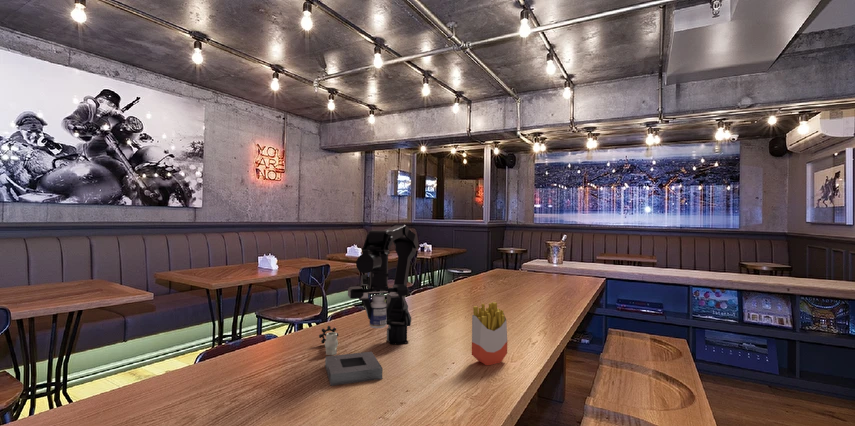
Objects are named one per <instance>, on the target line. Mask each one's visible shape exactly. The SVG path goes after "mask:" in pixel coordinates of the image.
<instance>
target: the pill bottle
mask: <svg viewBox="0 0 855 426" xmlns="http://www.w3.org/2000/svg"><path fill="white" fill-rule="evenodd" d="M371 296H372V297H371V300H372V302H371V301H370V314H371V315H370V319H369V327H370V328H371V329H372V328H373V329H383V328H386V327H387V325H386V319H387V304H386V301H385V300H386V294H372V295H371Z"/></svg>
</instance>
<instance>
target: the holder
mask: <svg viewBox="0 0 855 426" xmlns="http://www.w3.org/2000/svg"><path fill="white" fill-rule="evenodd" d="M324 359H325V360H324V361H325V362H324V366H325V367H324V368H325V371H326V375H327V378H328V382H329V385H330V386H331V387H332V386H340V385H347V384H355V383H362V382H369V381H378V380H383V367H382V365H381V363H380V362H379V360H378V359H377V357H376V356H375V354H374V353H373V351H365V352H357V353H356V352H354V353H346V354H345V353H344V354H335V355H326V356H325V358H324Z"/></svg>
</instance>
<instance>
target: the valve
mask: <svg viewBox="0 0 855 426" xmlns="http://www.w3.org/2000/svg"><path fill="white" fill-rule="evenodd" d="M331 327H332V326H330V325H327V328H326V329H325V328H324V327H323V328H321V332H322V333H319V334H318V337H319V338H320V339H321V341H320V342H321V344H324V348H325V355H326V356H335V355H338V353H337V351H338V349H337V348H338V345H339V342H338V337H339V333H338V332H336V331H337V328H336V327H333V328H331ZM326 332H327V333H326Z"/></svg>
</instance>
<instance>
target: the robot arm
mask: <svg viewBox="0 0 855 426" xmlns="http://www.w3.org/2000/svg"><path fill="white" fill-rule="evenodd" d="M392 245H394V247H395V248H394V251H395V253H396V255H397V263H396V269H395V276H394V282H393V285H392V287H389V286H388V285H389V283H388V282H389V281H388V280H389V279H388V278H389V255H390V254H391V253H390V248H391V246H392ZM418 248H419V239H418V237H417V235H416V233H415V232H413V231H412V230H410V228H409V226H408V225H406V224H395V225H393V226H391V227H388V228H386V229H383V230H382V229H371V230H370V231H368V233H367V234H366V237H365V240H364V243H363V246H362V249H361V252H362V254H360V255H359V256H358V257H357V259H356V261H355V262H356V263H355V265H356V268H357V270H358V271H359V272H360V273H362V275H361V276H360V278H361V279H360V283H361V286H359V285H358V286H357V285H356V286H349V287H348V288H347V297H349V299H354V300H355V299H358V300H359V301H360V302H362V303H363V306H364V309H365V313H366V315H367V318H368V320H370V315H371V314H370V303H371V298H369V295H371V296H372V295H385V296H386V299H385V300H386V301H385V302H386V304H387V319H386V326H388V327H387V328H386V341H387V342H388V343H389V344H390V345H391V346H392V345H401V344H409V340H408V327H410V326H411V324H412V316H411V314H410V312H409V305H408V303H407V300H406V296H409V295H410V293H409V292H410V291H409V290H410V289H409V287H408V286H407V285H408V280H409V275H410V274H409V272H410V267H411V261H412V259H413V258H414V256H416V254H417V250H418ZM368 274H369V275H368ZM362 286H366V288H363V287H362Z"/></svg>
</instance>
